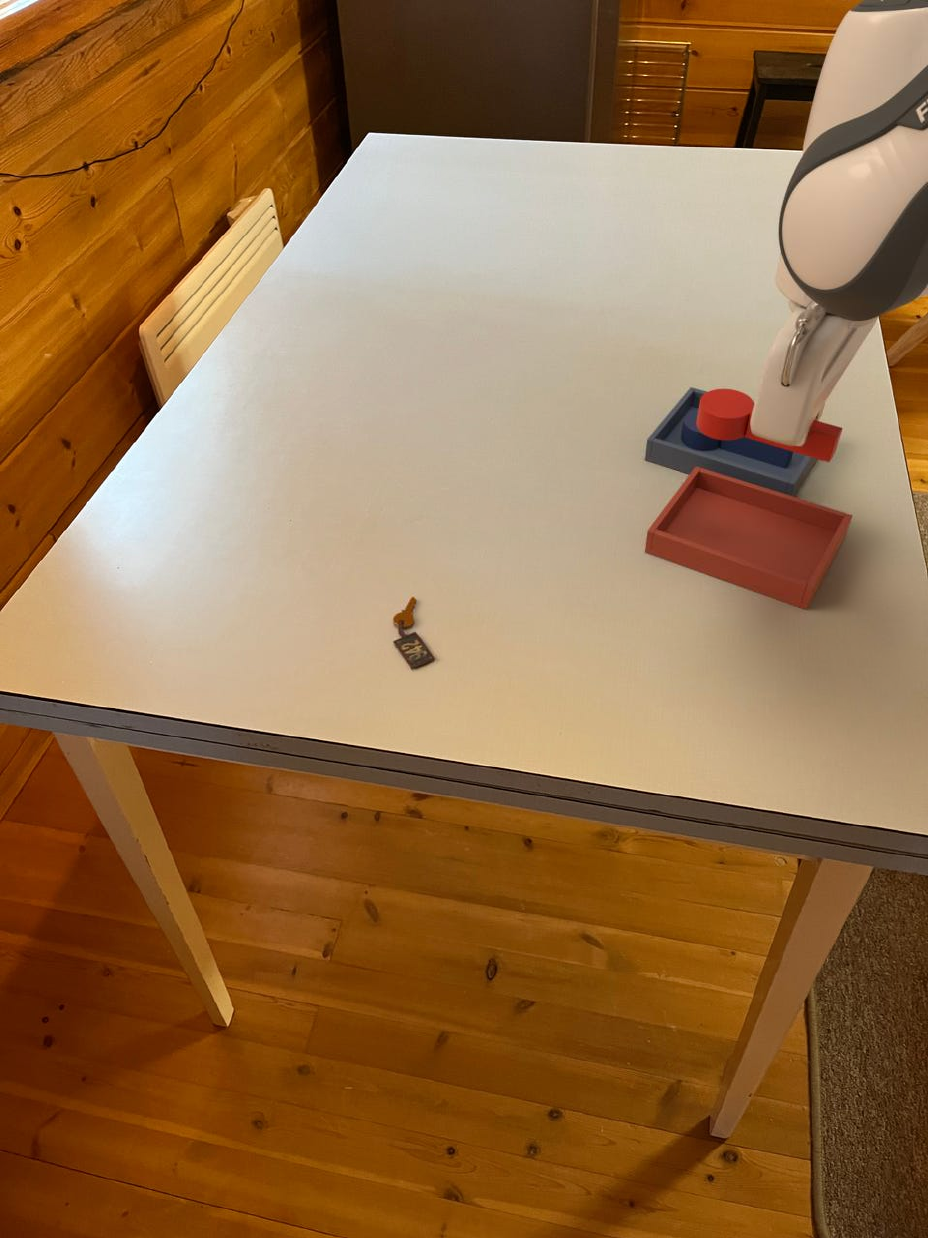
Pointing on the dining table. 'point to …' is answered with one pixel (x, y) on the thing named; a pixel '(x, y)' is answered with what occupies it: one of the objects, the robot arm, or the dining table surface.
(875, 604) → the dining table surface
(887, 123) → the robot arm
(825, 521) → the red tray
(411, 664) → the key tag
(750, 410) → the red spoon
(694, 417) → the blue spoon
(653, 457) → the blue tray
